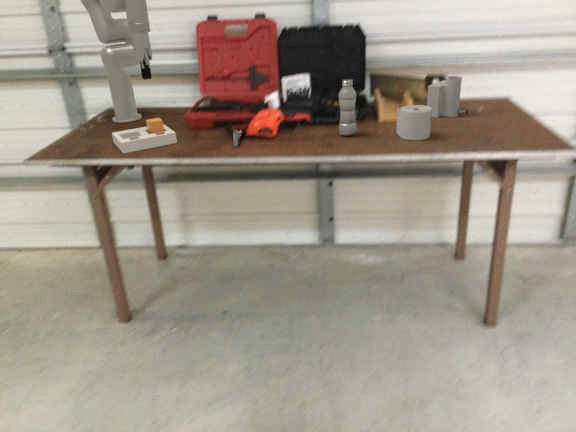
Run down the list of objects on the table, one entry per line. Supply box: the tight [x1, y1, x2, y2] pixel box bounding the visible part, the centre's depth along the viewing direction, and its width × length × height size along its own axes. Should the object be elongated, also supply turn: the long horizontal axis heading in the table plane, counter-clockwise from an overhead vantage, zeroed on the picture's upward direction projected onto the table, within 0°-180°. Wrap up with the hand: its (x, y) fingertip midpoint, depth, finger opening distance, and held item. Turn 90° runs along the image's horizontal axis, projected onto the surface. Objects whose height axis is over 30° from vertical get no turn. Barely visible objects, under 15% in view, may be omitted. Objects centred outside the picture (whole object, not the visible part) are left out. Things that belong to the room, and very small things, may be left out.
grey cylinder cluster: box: [426, 75, 469, 119], centre depth 202 cm, size 12×14×15 cm
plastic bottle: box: [338, 78, 357, 136], centre depth 184 cm, size 6×7×20 cm
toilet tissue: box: [395, 104, 432, 141], centre depth 181 cm, size 11×12×10 cm
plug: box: [145, 117, 164, 134], centre depth 194 cm, size 5×5×8 cm
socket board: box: [111, 123, 178, 154], centre depth 193 cm, size 16×20×5 cm
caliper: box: [232, 129, 242, 148], centre depth 190 cm, size 20×1×6 cm, turn 175°
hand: (147, 78), depth 194 cm, fingers closed
